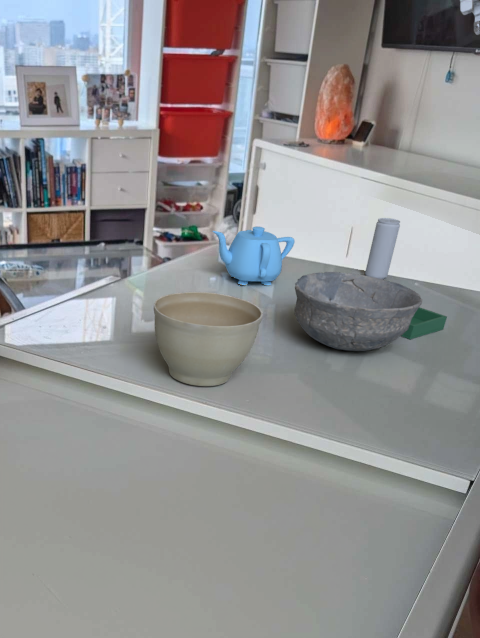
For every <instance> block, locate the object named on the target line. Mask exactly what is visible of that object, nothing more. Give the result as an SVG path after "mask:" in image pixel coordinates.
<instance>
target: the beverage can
mask: <svg viewBox="0 0 480 638" xmlns="http://www.w3.org/2000/svg"><path fill="white" fill-rule="evenodd" d="M400 223H401V221H400V220H399V219H395V218H390V217H379V218H378V219H377V222H376V223H375V224H376V225H375V227H374V232H373V238H372V241H371V244H370V245H371V246H370V248H369V249H370V250H369V254H368V258H367V263H366V267H365V271H364V274H365V276H370V277H374V278H379V279H383V280H386V278H388V275H389V271H390V267H391V263H392V259H393V255H394V251H395V248H396V243H397V239H398V235H399V231H400V227H401V224H400Z"/></svg>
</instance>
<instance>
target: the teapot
mask: <svg viewBox="0 0 480 638" xmlns="http://www.w3.org/2000/svg"><path fill="white" fill-rule="evenodd" d="M265 230H266V228H265V227H263V226H253V227H252V229H246V230H239V231H238V232H237V234H236V235H235V237H234V238H233V240H232V242H231V244H230V246H229V248H228V247H227V240H226V236H225V234H224V233H223V232H222V231H217V230H212V231H211V232H212V233H214V234H215V235H216V236H217V239H218V253H219V257H220V259H221V261H222V262H223V263H224V265H225V268H226V270H227V272H228V274H229V275H230V276H231V277H235V278H234V279H237V280H238V282H237V283H238V284H242V285H246V284H248V285H249V282H260V283H261V285H262V284H264V285H271V284H272V285H273V283H272V282H273V281H276V279H277V278H278V277H279V276H280V274H281V273H282V268H283V260H284V259H285V258H286V257H287V255H289V253H290V252H291V251H292V249H293V247H294V246H295V243H296V241H295V238H293V236H281V237H277V236H276V235H275V234H273V233H271V232H269V231H265ZM280 243H286V244H285V247H284V249H283V250H282V251H281V246H280ZM231 277H230V278H231ZM264 285H263V286H264ZM272 285H271V286H272Z"/></svg>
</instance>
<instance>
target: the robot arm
mask: <svg viewBox="0 0 480 638" xmlns="http://www.w3.org/2000/svg"><path fill="white" fill-rule="evenodd" d="M459 2H460V3H459V4H460V5H459V8H460V10H459V11H460V13H461V14H462V15H463V16H466V15H468V14H473V16H474V22H473V32H474V33H475V35H477V36H479V35H480V0H459Z"/></svg>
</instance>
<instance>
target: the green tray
mask: <svg viewBox="0 0 480 638" xmlns="http://www.w3.org/2000/svg"><path fill="white" fill-rule="evenodd" d="M447 317H448V316H446V315H444V314H441V313H438V312H435V311H432V310H429V309H425V308H424V307H421V306H420V307H419V308H418V310H417V311H416V312H415V314H414V316H413V317H412V320H411V323H410V325H409V328H408V330H407V331H406V332H405V333H404V334H403V335H401V336H400V337H403V338H404V339H408V340H413V339H416V338H420V337H423V336H426V335H430V334H433V333H436V332H440V331H443V330H444V329H445V326H446V322H447V319H448V318H447Z"/></svg>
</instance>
